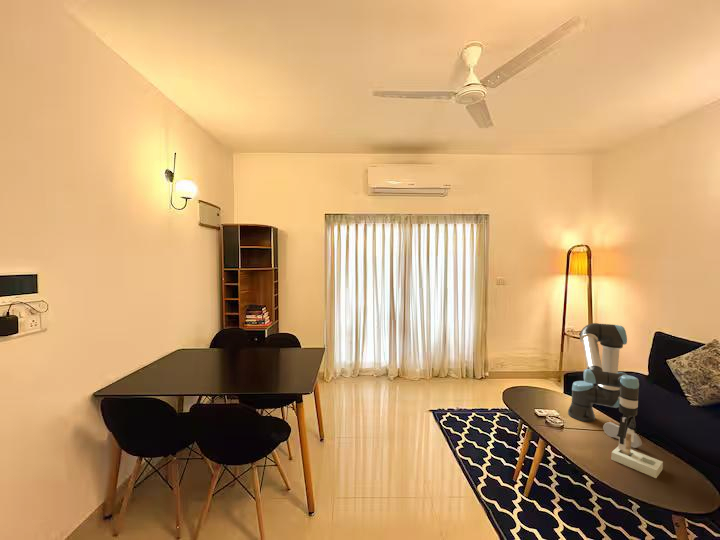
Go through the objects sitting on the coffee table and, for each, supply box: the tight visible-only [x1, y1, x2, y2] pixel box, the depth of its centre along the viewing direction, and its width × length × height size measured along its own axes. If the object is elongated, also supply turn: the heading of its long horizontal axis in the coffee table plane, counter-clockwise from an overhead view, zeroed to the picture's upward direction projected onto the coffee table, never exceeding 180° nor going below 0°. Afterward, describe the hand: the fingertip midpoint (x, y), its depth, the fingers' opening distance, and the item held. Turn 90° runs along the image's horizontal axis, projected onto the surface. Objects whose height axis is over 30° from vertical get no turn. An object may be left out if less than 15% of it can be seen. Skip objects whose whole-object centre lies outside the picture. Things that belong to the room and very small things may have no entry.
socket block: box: [610, 446, 664, 479], centre depth 169 cm, size 12×18×4 cm, turn 36°
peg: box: [621, 433, 632, 456], centre depth 173 cm, size 4×4×14 cm
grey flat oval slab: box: [602, 421, 642, 449], centre depth 191 cm, size 20×2×8 cm, turn 20°
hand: (626, 445), depth 173 cm, fingers open, 13 cm apart
